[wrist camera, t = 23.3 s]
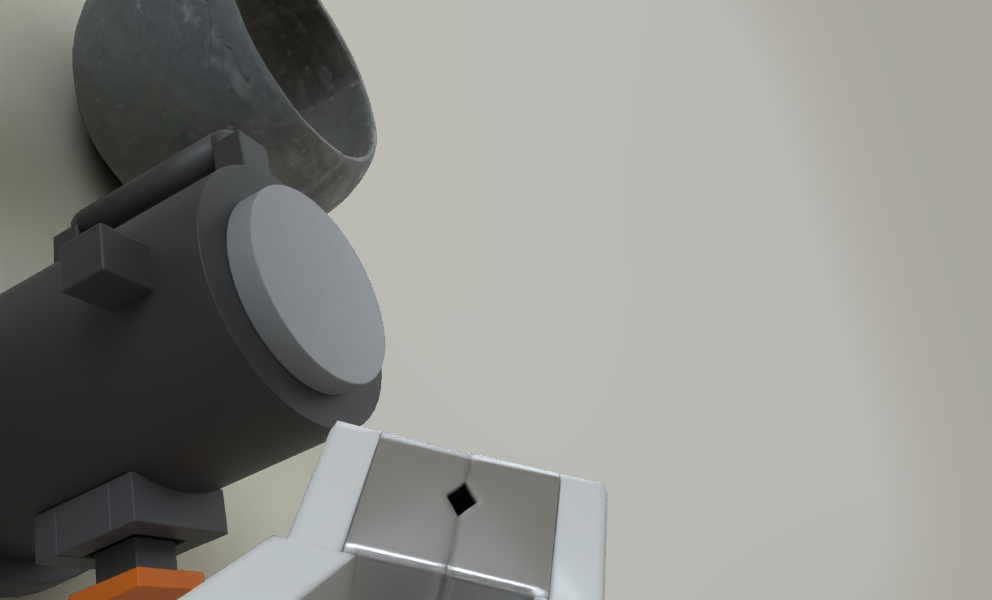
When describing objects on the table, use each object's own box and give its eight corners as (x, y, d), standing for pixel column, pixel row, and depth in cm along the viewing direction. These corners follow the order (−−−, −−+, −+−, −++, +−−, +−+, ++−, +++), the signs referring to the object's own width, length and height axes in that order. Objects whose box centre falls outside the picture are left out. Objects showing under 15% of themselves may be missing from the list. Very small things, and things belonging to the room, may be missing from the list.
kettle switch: (139, 618, 37) (206, 591, 36) (68, 616, 34) (139, 586, 33) (135, 564, 38) (200, 536, 37) (66, 557, 35) (134, 527, 34)
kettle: (121, 613, 45) (445, 480, 39) (-211, 603, 32) (204, 403, 26) (102, 309, 53) (369, 164, 47) (-170, 203, 40) (154, -13, 34)
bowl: (52, 260, 51) (261, 139, 46) (-29, -38, 55) (155, -173, 51) (262, 295, 69) (425, 211, 65) (189, 71, 74) (337, -20, 70)
